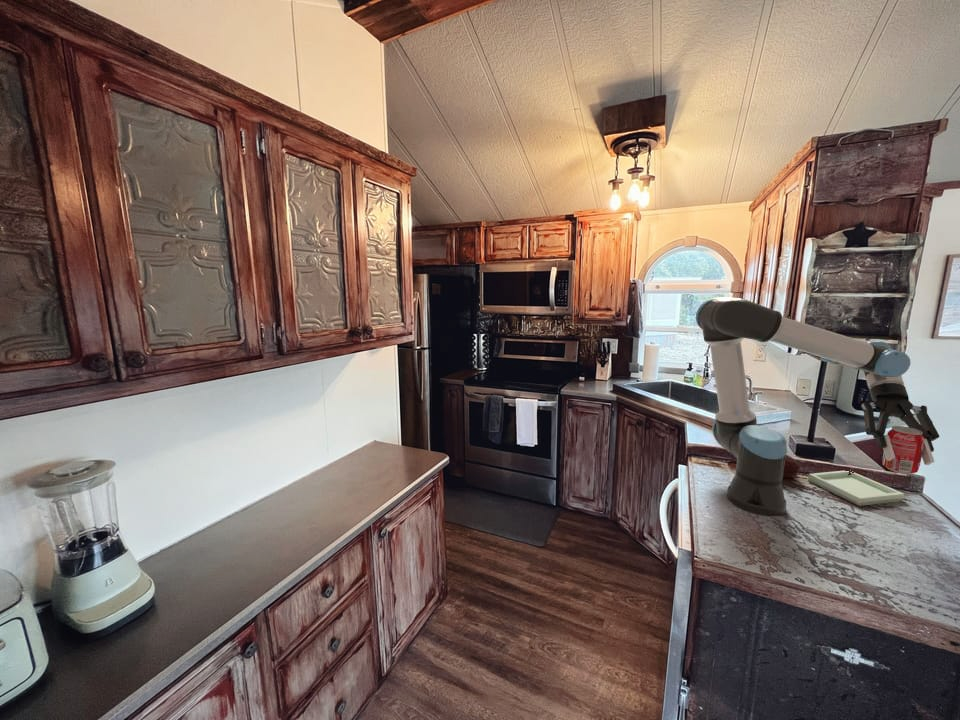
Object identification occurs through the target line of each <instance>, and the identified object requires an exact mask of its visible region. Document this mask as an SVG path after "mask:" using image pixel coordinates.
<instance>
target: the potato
mask: <svg viewBox="0 0 960 720" xmlns="http://www.w3.org/2000/svg"><path fill="white" fill-rule="evenodd" d="M800 469H801V467H800V464H799V462H798V461H797V460H796V459H795V458H793V456H790V455H788V454H786V456H785V464H784V471H783V478H791V477H794V476H796V475H797V474H798V472H799V471H800Z"/></svg>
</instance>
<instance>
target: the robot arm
mask: <svg viewBox="0 0 960 720" xmlns="http://www.w3.org/2000/svg"><path fill="white" fill-rule="evenodd" d="M695 321H696V324H697V326H698V327H699V328H700V329H701V331H702V336H703V341H704V342H705V343H707V344H708V345H709V346H710V353H711V360H712V361H711V362H712V368H713V375H714V383H715V390H716V396H717V403H718V409H719V411H718V412H717V413H716V414H715V416H714V417H715V422H713V424H712V429H711V431H712V436H713V437H714V439H715V441H716V442H717V443H718V445H720V446H721V447H722V448H723V449H724V450H726V451H727V452H729V453H730V454H731V455H733V457H735V459H736V466H735V468H736V469H735V475H734V476H733V478H732V480H731V482H730V484H729V485H728V487H727V490H726V497H727V499H728V501H729V502H730V503H732V504H733V505H734V506H737V507H738V508H740V509H742V510H744V511H748V512H750V513H753V514H757V515H762V516H771V517H773V516H774V517H775V516H781V515H783V514H785V513H786V510H787V500H786V497H785V493H784V490H783V486H782V485H783V484H782V483H783V478H784V477H783V471H784V464H785V456H786V455H787V453H788V448H787V447H788V443H787V438H786V437H785V436H784V435H783V434H782V433H780V432H779V431H777V430H776V429H774V428H773V429H772V428H768V427H766V426H763V425H758V420H757V415H756V413H755V412H753V411H752V410H750V403H749V395H748V388H747V380H746V373H745V365H744V363H745V362H744V358H743V349H742V341H743V340H744V339H749V340H752V341H756V342H761V343H768V342H772V343H776V344H778V345H782V346H784V347H788V348H791V349H794V350H797V351H801V352H804V353H807V354H811V355H813V356H817V357H819V359H820V360H821V361H823V362H826V363H829V364H831V365H837V366H841V367H846V368H849V369H855V370H857V371H863V373H864V374H863V375H864V377H865V380H866V384H867V387H868V389H869V394H870V397H871V400H872V402H869V401H865V402H863V403H862V404H861V405H860V408H861V410H862V412H863V417H864V428H865V434H866V435H867V436H873V438H874V439H876V442H877V445H878V448H879V449H880V448H881V449H882V451H883V453H885V457H886V460H888V461H891V460H892V459H894V458H895V454H894V451H893V448H892V444H891V441H890V438H889V435H887V434H885V433H886V429H887V426H888V421H889V418H890V417H891V418H893V417H894V418H898V419H900V421H901V422H904V423H905V425H906V427H910V428H914V429H917V430H920V431H922V432H923V434H922V435H923V437H924V438H925V442H924V448H923V453H922V458H921V460H922V461H923V463H924V466H929V465H931V464H933V463H934V462H935V459H934V456H933V452H935V448H934V445H933V443H932V442H934V441H935V440H937V439H939V438H940V434H939V433H938V430H937V429H936V427H935V425H934V423H933V422H932V419H931V418H930V416H929V414H928V406H927V405H921V406H919V405H914V404H913V403H912V402H911V401H910V398H909V394H908V391H907V389H906V386H905V382H904V379H903V377H902V375H905V374H906V372H908V370H909V369H910V366H911V358H910V357H909V355H908V354H906V353H905V352H904V351H900V350H896V349H893V348H892V346H891V345H890V344H889V343H887V342H885V341H882V340H881V341H880V340H878V341H874V340H873V341H869V342H866V341H863V340H859V339H856V338H853V337H849V336H848V335H847V336H846V335H844V334H840V333H837V332H833V331H831V330H828V329H827V330H826V329H824V328H821V327H817V326H814V325H811V324H808V323H804V322H801V321H798V320H794V319H791V318H789V317H786V316H785V317H784V316H783V314H782V312H780V311H778V310H775V309H772V308H769V307H767V306H764V305H761V304H758V303H756V302H754V301H752V300H747V299H745V298H741V297H740V298H739V297H725V296H719V297H717V296H716V297H713V298H710V299H707V300H705V301H704V302H702V304H700V306H699V307H698V309H697V310H696V312H695ZM874 409H876V411H878V412H879V415H878V422H877V425H876V422H875V416H874V415H875V413H874ZM911 410H912V411H913V412H912V411H911ZM914 415H915V417H916V418H917V419H916V418H915V417H914Z"/></svg>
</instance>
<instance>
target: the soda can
mask: <svg viewBox="0 0 960 720" xmlns="http://www.w3.org/2000/svg"><path fill="white" fill-rule="evenodd" d="M922 434H923V432H922V431H920V430H917V429H914V428H910V427H908V426H904V425H894V426H892V427H891V429H890V430H888V432H887V434H886V435H889V438H890V441H891V444H892V448H893V451H894V454H895V458H894V459H892V460H891V461H888V460H886V457H885V453H884V452H883V454H882V455H883V456H882V465H883V466H884V467H885V468H886V469H888V470H889V471H892V472H895V473H898V474H904V475H911V474H912V475H913V474H915V473H917V472H918V471H919V469H920V466H921V462H922V453H923V448H924V442H925V438H924V437H923V435H922Z"/></svg>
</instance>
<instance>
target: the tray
mask: <svg viewBox="0 0 960 720" xmlns="http://www.w3.org/2000/svg"><path fill="white" fill-rule="evenodd" d="M852 472H853V471H852ZM852 472H850V473H851V475H848V474H849V471H845V470H836V471H835V470H834V471H826V472H816V473H815V472H814V473H808V478H807V481H808V482H810V483H812V484H814V485H816V486H818V487H820V488H822V489H825V490H826V491H828V492H830V493H832V494H835V495H837V496H838V497H841V498H843V499H844V500H846V501H848V502H850V503H852V504H855V505H856V506H858V507H861V506H871V505H880V504H888V503H890V504H891V503H898V502H904V497H905V493H903V492H901V491H900V490H899V491H898V490H896V489H894V488H892V487H890V486H887V485H886V484H882V483H880V482H878V481H875V480H873V479H871V478H868V477H865V476H863V475H861V474H858V472H857V473H856V472H854V473H852Z"/></svg>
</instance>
